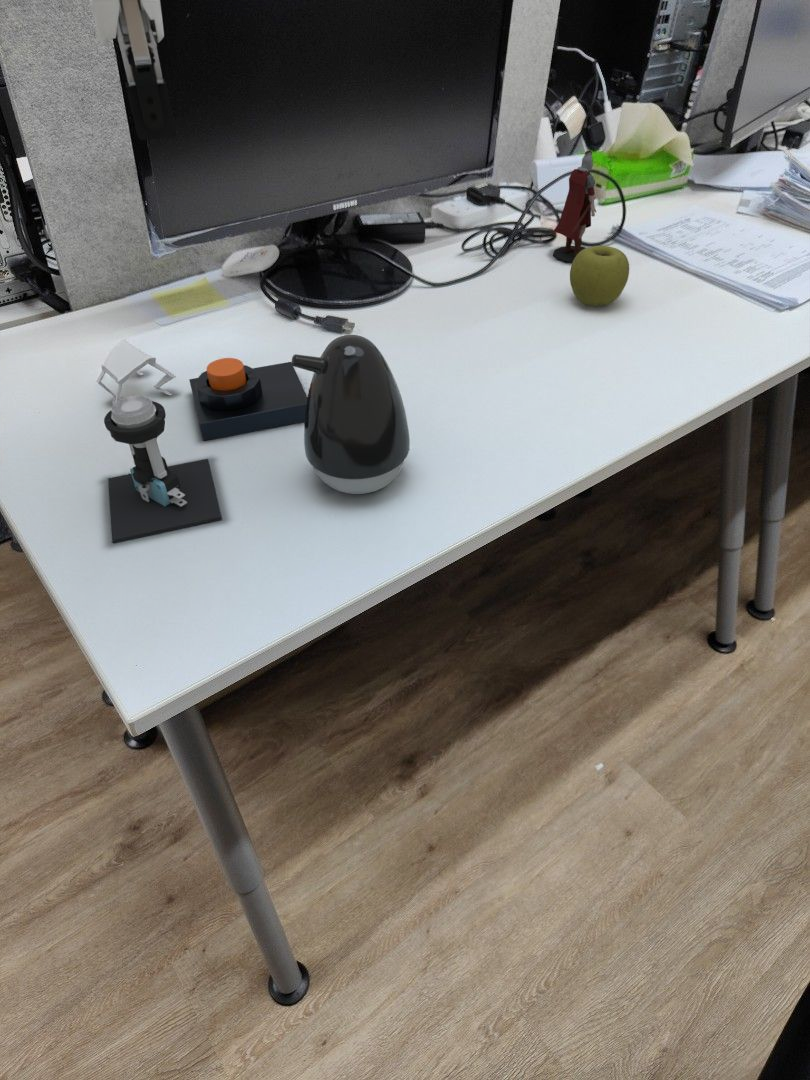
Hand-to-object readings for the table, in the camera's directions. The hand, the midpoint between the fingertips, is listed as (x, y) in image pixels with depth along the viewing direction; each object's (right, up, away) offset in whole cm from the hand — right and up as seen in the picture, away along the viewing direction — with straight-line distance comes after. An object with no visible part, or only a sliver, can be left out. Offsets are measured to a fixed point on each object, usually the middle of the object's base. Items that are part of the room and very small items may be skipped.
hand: (156, 135), depth 65 cm
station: (+4, -20, +22) cm, 29 cm away
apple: (+48, -2, +41) cm, 63 cm away
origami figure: (-10, -17, +25) cm, 32 cm away
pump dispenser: (+17, -29, +11) cm, 35 cm away
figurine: (+47, +9, +53) cm, 72 cm away
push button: (-2, -31, +9) cm, 32 cm away
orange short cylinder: (+2, -17, +19) cm, 26 cm away
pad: (-2, -31, +9) cm, 32 cm away
